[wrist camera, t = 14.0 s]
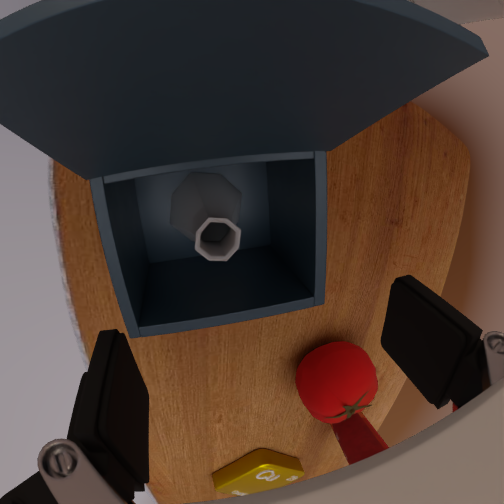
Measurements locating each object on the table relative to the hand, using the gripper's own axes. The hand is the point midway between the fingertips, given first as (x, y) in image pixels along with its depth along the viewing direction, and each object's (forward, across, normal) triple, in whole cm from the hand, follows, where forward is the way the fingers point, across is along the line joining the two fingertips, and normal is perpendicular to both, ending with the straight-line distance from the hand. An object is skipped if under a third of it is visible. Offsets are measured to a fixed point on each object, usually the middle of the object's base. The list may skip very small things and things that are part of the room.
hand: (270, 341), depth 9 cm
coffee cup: (+22, -19, +43) cm, 52 cm away
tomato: (+23, -13, +26) cm, 37 cm away
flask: (+22, +1, +1) cm, 22 cm away
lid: (+4, 0, -7) cm, 8 cm away
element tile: (+22, -1, +57) cm, 61 cm away
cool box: (+23, +1, +1) cm, 23 cm away
